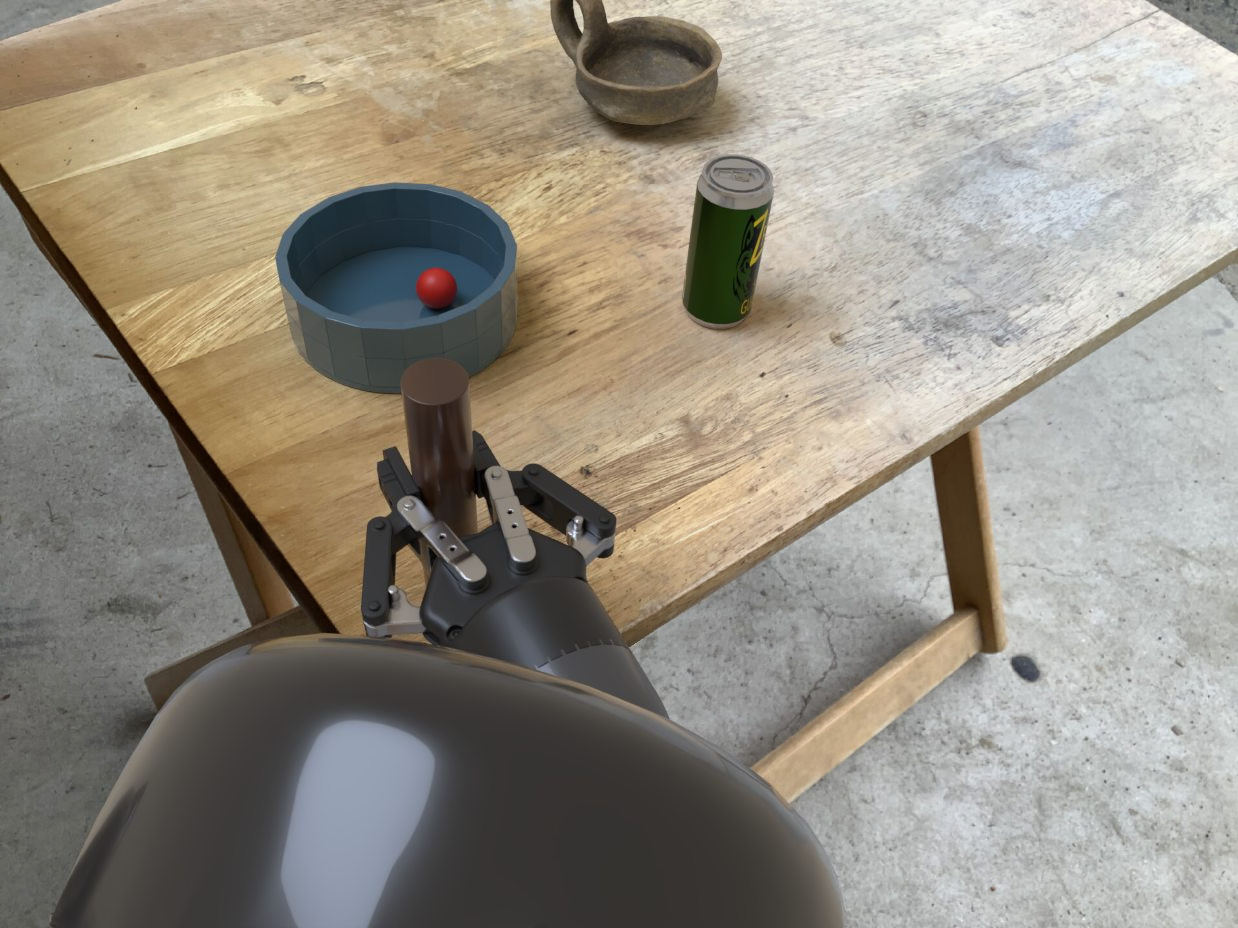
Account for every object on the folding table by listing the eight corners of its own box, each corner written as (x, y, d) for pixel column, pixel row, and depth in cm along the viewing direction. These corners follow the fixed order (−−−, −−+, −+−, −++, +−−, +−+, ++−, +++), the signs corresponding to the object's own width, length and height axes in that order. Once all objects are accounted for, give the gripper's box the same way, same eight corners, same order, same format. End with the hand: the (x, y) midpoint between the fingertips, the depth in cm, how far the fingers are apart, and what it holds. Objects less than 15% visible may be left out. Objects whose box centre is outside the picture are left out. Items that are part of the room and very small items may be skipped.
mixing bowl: (306, 413, 74) (292, 347, 70) (278, 264, 84) (263, 199, 80) (542, 370, 78) (543, 306, 74) (488, 234, 88) (485, 170, 84)
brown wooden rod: (433, 628, 63) (407, 410, 50) (422, 584, 65) (394, 363, 52) (487, 615, 64) (476, 397, 51) (475, 573, 66) (461, 352, 53)
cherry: (422, 320, 80) (418, 288, 78) (414, 294, 82) (410, 262, 80) (462, 313, 81) (460, 281, 79) (453, 288, 83) (451, 256, 80)
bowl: (665, 168, 96) (676, 62, 89) (511, 100, 102) (509, -5, 95) (745, 106, 104) (761, 4, 97) (597, 46, 110) (602, -54, 103)
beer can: (678, 327, 82) (696, 192, 73) (683, 282, 86) (701, 148, 77) (749, 335, 82) (776, 201, 73) (751, 290, 86) (777, 157, 77)
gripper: (710, 599, 48) (542, 358, 58) (409, 727, 43) (281, 440, 53) (691, 686, 54) (541, 453, 64) (423, 808, 49) (305, 535, 59)
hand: (423, 448), depth 58 cm, fingers closed on brown wooden rod, 3 cm apart
